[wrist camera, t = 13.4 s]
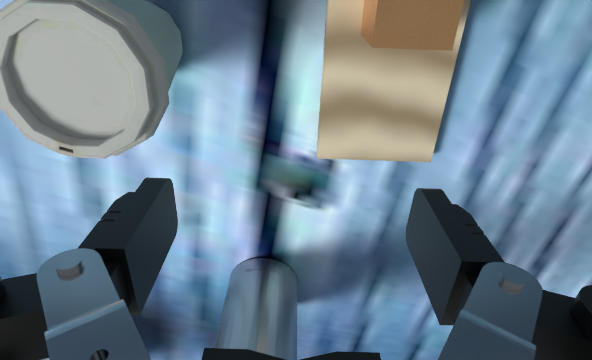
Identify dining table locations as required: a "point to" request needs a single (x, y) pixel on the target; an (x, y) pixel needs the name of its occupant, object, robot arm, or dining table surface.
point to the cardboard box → (411, 23)
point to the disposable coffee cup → (87, 72)
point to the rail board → (380, 92)
